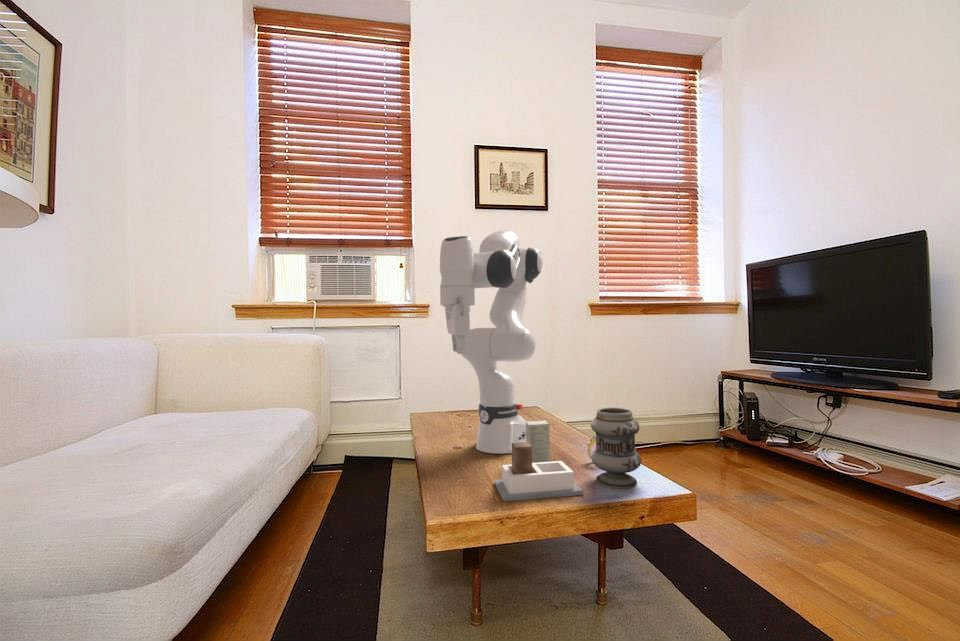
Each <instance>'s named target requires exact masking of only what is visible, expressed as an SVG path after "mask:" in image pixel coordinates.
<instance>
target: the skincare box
mask: <svg viewBox="0 0 960 641" xmlns="http://www.w3.org/2000/svg"><path fill="white" fill-rule="evenodd" d="M550 439H551V438H550V423H549V422H548V421H547V420H526V442H528V443H529V444H530V445H531V446H532V463H538V462H551V446H550Z"/></svg>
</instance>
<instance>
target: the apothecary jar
mask: <svg viewBox="0 0 960 641" xmlns="http://www.w3.org/2000/svg"><path fill="white" fill-rule="evenodd" d="M590 428H591V430H592V431H593V432H594V433H595V434H596V442H595V450H593V452H592V453H591V458H592V459H591V458H590V459H591V461H592V463H593V464H594V466H595V467H596V468H598V469H599V470H602V471H603V472H602V473H600V474H599V475H598V474H597V476H596V477H595V479H596V480H595V481H596V482H597V483H598V484H600V485H601V486H603V487H607V488H611V489H612V488H613V489H629V488H633V487H635V486H637V484H638V481H637V479H636V478H635V477H634V476H633V475H631V474H629V473H631V472H634V471H636V470H637V469H638V468H640V466H641V464H642V457H641V456H640V454H639V452H637V450H636V441H635V440H636V439H635V438H636V436H635V435H636V434H638V433H639V431H640V429H641V428H640V424H639V422H638V420H637V419H635V418H634V416H633V412H632V409H628V408H625V407H602V408H599V409H597V410H596V416H595V417H594V418H593V419H592V420H591V421H590Z"/></svg>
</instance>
